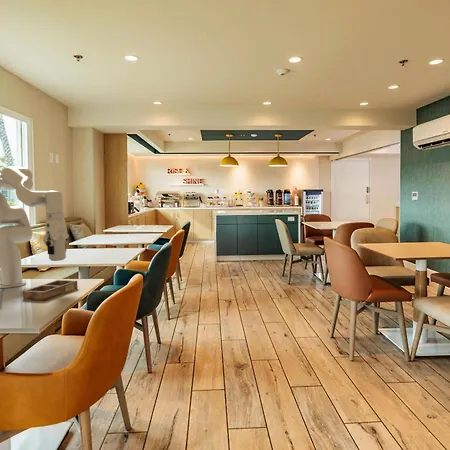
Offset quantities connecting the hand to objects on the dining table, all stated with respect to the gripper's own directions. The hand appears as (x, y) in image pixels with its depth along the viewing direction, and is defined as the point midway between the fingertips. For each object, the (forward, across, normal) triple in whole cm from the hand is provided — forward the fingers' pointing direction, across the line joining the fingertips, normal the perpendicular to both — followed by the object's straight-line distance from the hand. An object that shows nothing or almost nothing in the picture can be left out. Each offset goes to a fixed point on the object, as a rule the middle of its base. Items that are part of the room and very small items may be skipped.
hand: (57, 252), depth 174 cm
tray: (+19, -5, 0) cm, 20 cm away
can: (+4, 0, 0) cm, 4 cm away
